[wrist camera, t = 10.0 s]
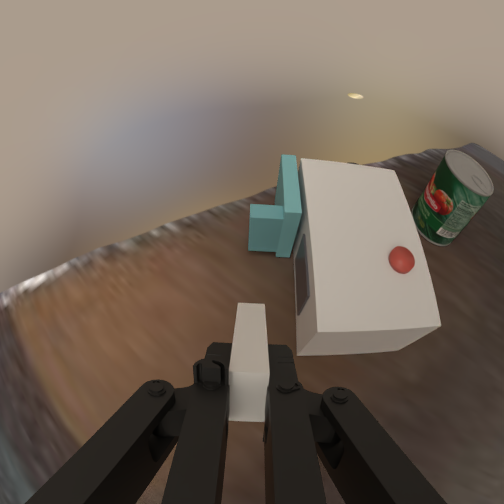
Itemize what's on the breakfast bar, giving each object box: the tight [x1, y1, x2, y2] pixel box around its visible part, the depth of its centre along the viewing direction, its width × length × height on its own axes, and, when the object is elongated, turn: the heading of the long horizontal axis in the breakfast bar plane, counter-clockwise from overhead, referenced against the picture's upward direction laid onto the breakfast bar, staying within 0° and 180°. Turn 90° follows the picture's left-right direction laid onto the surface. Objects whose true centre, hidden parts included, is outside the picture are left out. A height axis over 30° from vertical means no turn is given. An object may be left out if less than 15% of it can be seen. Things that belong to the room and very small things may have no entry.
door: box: [248, 155, 302, 257], centre depth 30 cm, size 4×8×8 cm, turn 178°
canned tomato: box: [411, 150, 494, 246], centre depth 31 cm, size 8×8×11 cm
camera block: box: [293, 158, 441, 356], centre depth 28 cm, size 11×20×9 cm, turn 178°
